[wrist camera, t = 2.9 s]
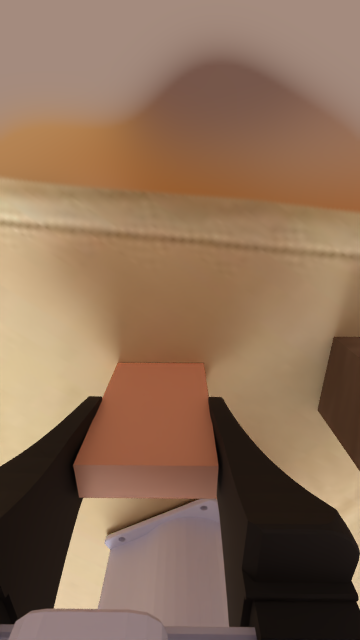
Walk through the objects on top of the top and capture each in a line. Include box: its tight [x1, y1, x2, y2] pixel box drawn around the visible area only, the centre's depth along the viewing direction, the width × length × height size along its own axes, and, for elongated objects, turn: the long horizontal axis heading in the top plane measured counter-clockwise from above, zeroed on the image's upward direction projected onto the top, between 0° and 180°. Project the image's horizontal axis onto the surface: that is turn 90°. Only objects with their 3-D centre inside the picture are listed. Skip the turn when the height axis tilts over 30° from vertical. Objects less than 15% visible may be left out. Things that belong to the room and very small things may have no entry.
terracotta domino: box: [73, 363, 218, 499], centre depth 13 cm, size 2×5×7 cm, turn 90°
